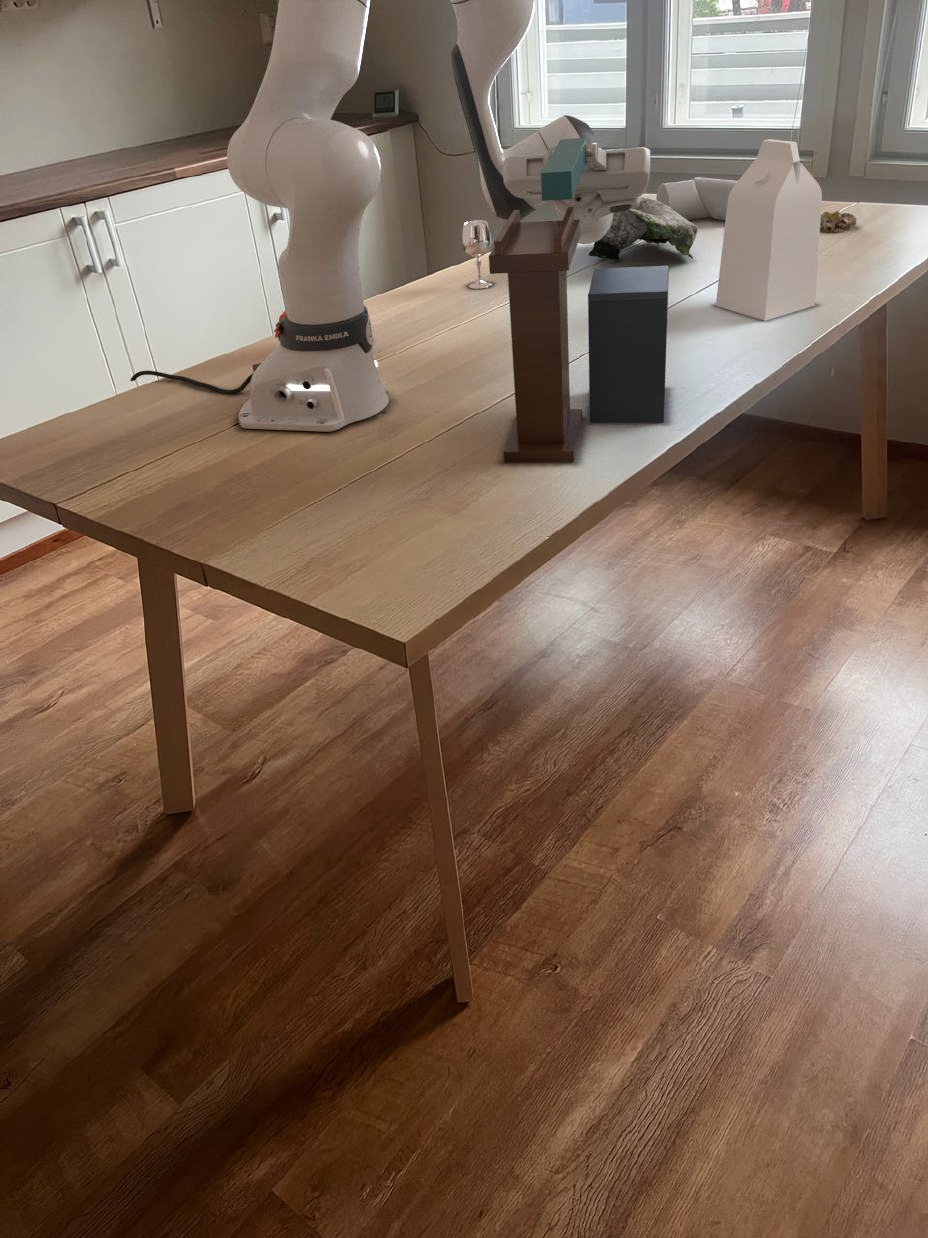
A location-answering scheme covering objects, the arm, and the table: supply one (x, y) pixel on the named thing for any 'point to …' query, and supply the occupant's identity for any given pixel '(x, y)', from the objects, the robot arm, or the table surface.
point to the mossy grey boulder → (645, 229)
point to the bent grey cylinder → (697, 197)
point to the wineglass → (477, 245)
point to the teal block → (563, 170)
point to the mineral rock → (837, 221)
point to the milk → (771, 236)
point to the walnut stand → (539, 335)
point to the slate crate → (627, 344)
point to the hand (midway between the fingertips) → (572, 150)
